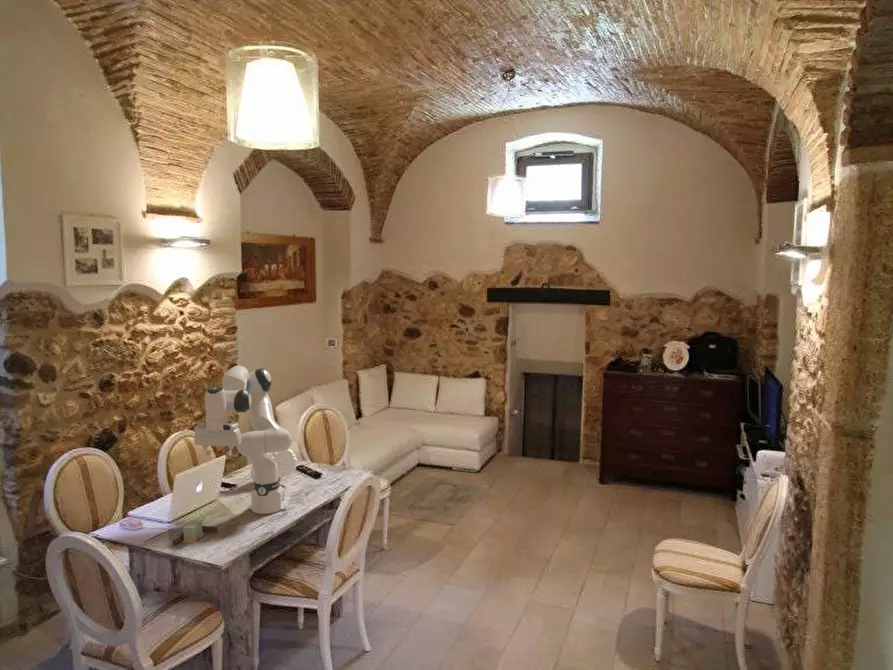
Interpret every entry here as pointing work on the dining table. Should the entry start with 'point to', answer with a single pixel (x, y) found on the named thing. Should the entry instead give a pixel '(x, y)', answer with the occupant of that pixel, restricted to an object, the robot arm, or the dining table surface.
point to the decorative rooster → (281, 462)
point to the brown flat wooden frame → (205, 530)
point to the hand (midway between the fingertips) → (218, 455)
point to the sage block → (192, 531)
